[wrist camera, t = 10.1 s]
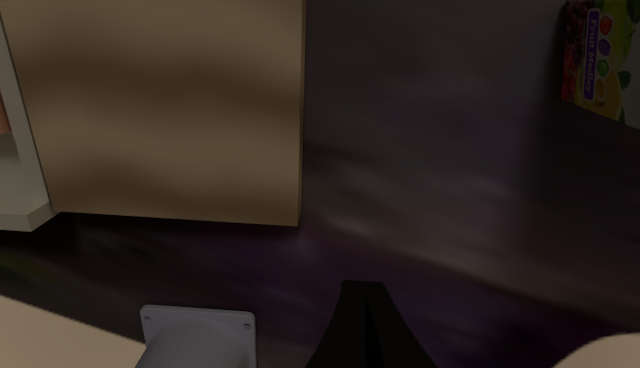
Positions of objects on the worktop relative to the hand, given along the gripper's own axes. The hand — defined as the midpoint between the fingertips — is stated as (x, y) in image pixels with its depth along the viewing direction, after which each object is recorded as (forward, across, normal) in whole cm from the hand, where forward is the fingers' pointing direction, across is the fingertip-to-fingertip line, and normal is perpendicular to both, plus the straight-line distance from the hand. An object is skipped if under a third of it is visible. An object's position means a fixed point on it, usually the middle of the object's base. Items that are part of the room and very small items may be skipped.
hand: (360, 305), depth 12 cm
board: (+10, +10, -5) cm, 15 cm away
